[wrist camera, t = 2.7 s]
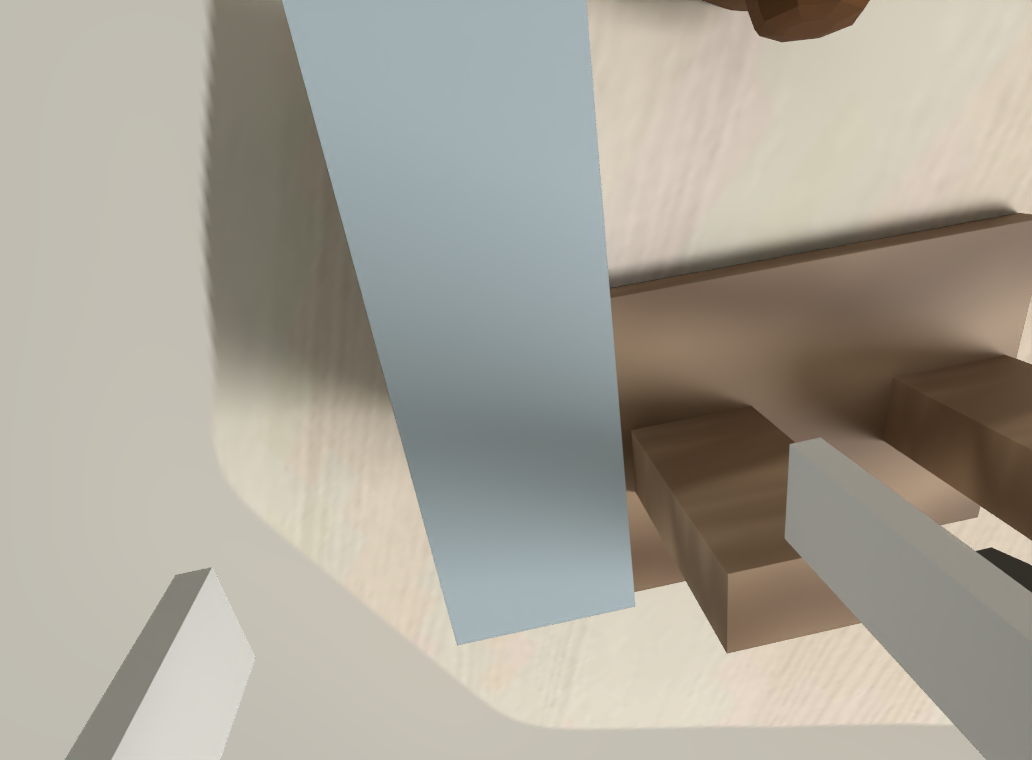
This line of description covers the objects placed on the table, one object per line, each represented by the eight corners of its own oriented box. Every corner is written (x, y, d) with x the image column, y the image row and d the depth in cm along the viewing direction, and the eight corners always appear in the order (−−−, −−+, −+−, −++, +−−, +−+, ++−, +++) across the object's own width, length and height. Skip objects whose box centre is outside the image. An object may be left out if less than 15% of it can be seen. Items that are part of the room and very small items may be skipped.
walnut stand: (598, 290, 21) (708, 392, 12) (1019, 212, 22) (1385, 258, 13) (623, 574, 26) (710, 774, 18) (956, 502, 27) (1184, 660, 19)
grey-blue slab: (371, 77, 17) (278, -12, 7) (498, 57, 17) (581, -57, 7) (447, 416, 22) (457, 645, 12) (546, 397, 22) (635, 606, 12)
